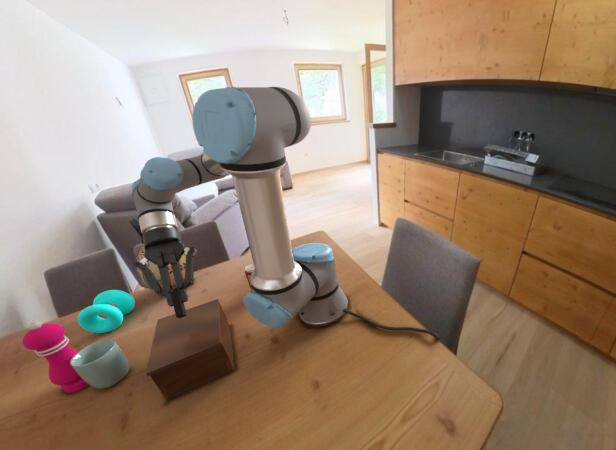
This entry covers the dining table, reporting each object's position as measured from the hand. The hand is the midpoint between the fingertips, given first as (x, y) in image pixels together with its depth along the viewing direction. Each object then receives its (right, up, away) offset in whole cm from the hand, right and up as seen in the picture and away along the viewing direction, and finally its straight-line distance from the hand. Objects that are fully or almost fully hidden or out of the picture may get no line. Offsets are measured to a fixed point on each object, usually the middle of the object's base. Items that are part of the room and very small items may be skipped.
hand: (181, 316), depth 68 cm
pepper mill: (-27, -17, +2) cm, 32 cm away
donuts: (-37, -9, +20) cm, 43 cm away
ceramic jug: (-29, -1, +35) cm, 45 cm away
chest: (+1, -14, +6) cm, 15 cm away
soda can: (+5, -2, +29) cm, 30 cm away
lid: (+1, -5, +1) cm, 5 cm away
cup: (-19, -17, +2) cm, 25 cm away
